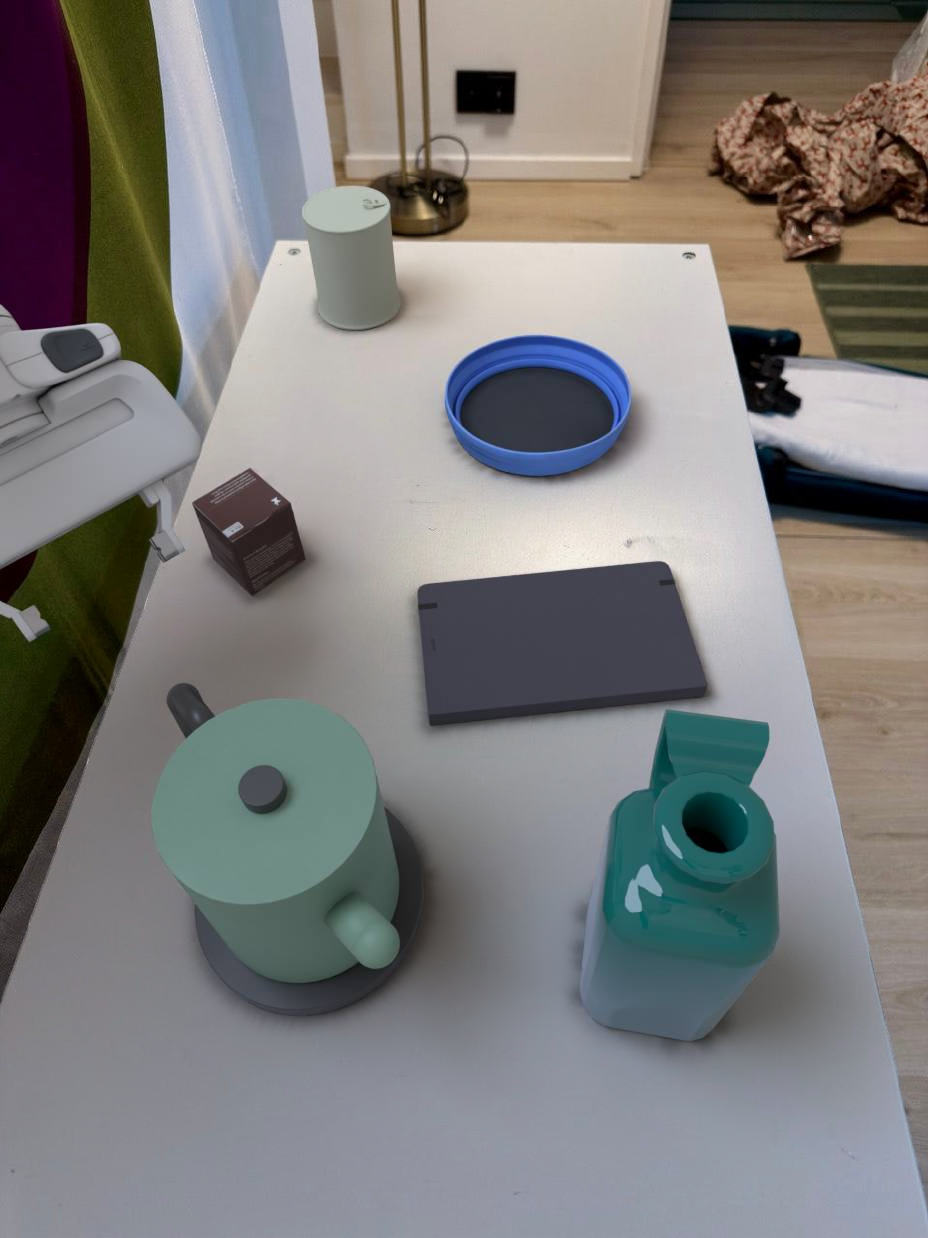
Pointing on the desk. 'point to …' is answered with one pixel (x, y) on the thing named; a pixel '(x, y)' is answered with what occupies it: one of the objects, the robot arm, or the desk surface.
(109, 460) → the robot arm
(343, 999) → the kettle base
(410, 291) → the desk surface
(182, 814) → the kettle
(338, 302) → the can
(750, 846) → the pitcher
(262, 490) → the box
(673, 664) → the notebook
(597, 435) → the bowl
